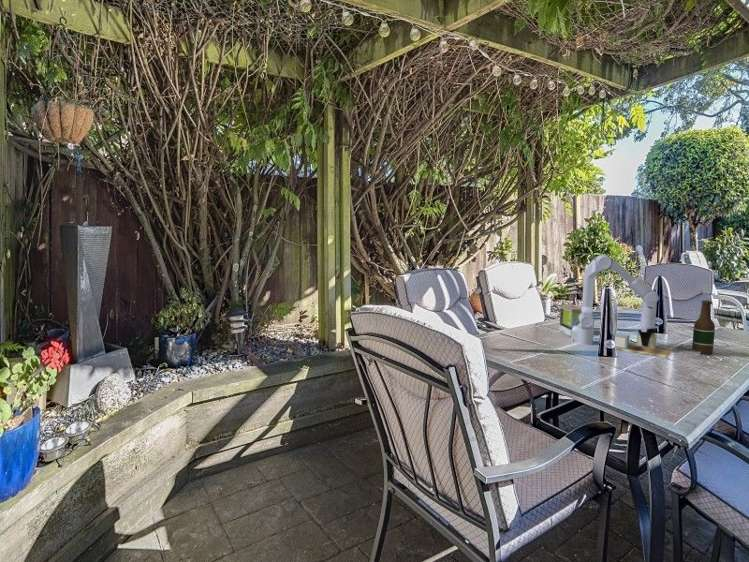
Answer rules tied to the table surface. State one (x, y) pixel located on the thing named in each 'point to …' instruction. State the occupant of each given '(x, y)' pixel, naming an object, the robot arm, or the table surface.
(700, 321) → the beer bottle
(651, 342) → the sage carton
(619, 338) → the slate carton
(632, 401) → the table surface
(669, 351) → the display board
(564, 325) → the tea box
